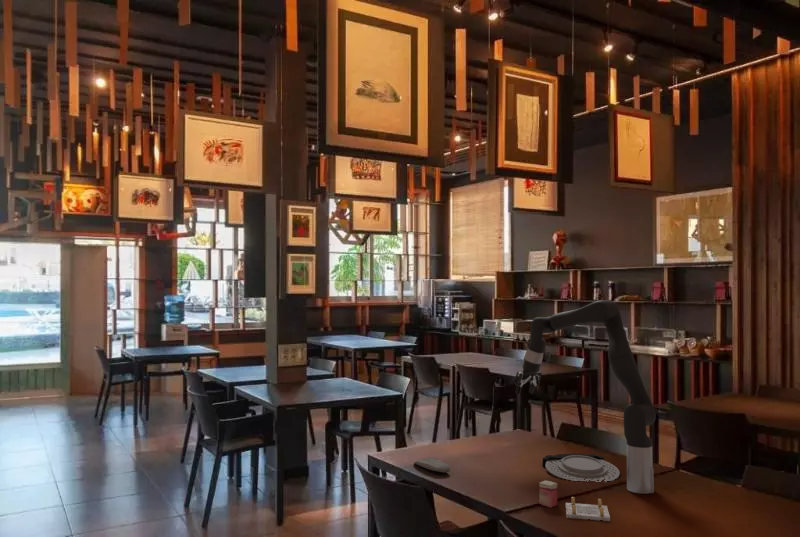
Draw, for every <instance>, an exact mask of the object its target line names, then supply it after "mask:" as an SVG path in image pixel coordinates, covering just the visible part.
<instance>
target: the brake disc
mask: <svg viewBox="0 0 800 537" xmlns="http://www.w3.org/2000/svg"><path fill="white" fill-rule="evenodd" d="M541 464H542V465H543V466H542V465H541V466H542V467H545V469H546V471H547V472H549V473H550V474H551V475H553V476H555V477H557V478H559V479H561V478H562V479H561V480H564V479H566V480H565V481H568V480H571V481H570V482H573V481H587V482H588V481H589V480H590V481H595V482H601V481H602V480H604V479H605V480H604V481H605V482H604V483H608V482H607V481H610V482H613V481H615V479H616V480H617V479H619V477H620V472H621V471H620V470H619V469H618V467H617V466H615V465H614V464H612V463H610V462H608V461H606V460H605V457H604V456H603V455H598V454H595V453H590V454H588V453H587V454H586V453H557V454H555V455H554V454H552V455H551V454H550V455H545V456H544V457H542V462H541ZM585 478H586V479H585ZM584 479H585V480H584ZM597 480H599V481H597Z"/></svg>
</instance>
